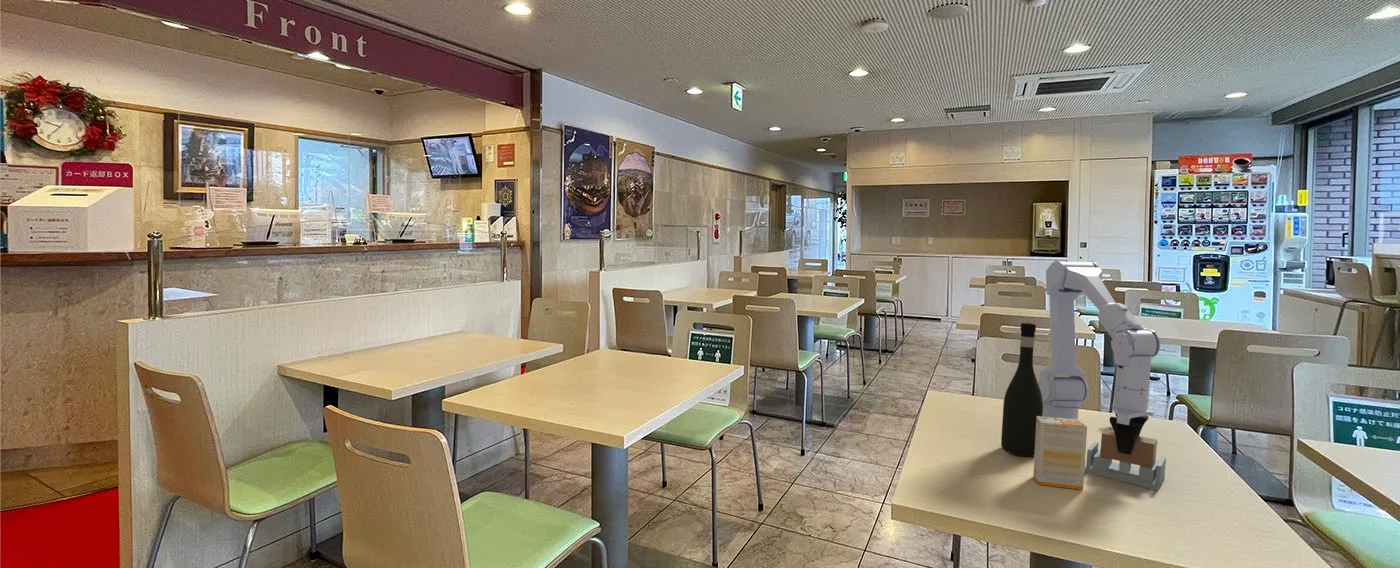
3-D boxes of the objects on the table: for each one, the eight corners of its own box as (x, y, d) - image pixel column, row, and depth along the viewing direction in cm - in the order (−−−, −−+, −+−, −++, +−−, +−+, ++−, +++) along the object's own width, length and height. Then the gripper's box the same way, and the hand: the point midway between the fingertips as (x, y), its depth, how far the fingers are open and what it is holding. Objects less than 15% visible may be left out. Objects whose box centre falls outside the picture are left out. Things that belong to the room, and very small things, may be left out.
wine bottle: (1012, 443, 146) (1020, 320, 144) (1046, 453, 140) (1055, 324, 137) (993, 449, 142) (1001, 322, 139) (1027, 460, 135) (1036, 327, 133)
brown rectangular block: (1100, 456, 129) (1101, 433, 128) (1104, 451, 132) (1105, 429, 131) (1152, 468, 123) (1154, 444, 122) (1155, 463, 125) (1157, 439, 125)
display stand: (1085, 472, 129) (1086, 450, 129) (1093, 462, 135) (1095, 441, 134) (1158, 490, 120) (1160, 467, 120) (1164, 479, 126) (1166, 456, 126)
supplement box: (1077, 481, 124) (1081, 419, 123) (1083, 491, 119) (1088, 426, 118) (1031, 475, 127) (1036, 414, 125) (1036, 484, 122) (1040, 421, 121)
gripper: (1149, 397, 118) (1144, 465, 119) (1160, 384, 128) (1155, 447, 130) (1106, 390, 123) (1101, 455, 124) (1120, 378, 133) (1116, 438, 134)
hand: (1126, 450), depth 127 cm, fingers closed on brown rectangular block, 4 cm apart
